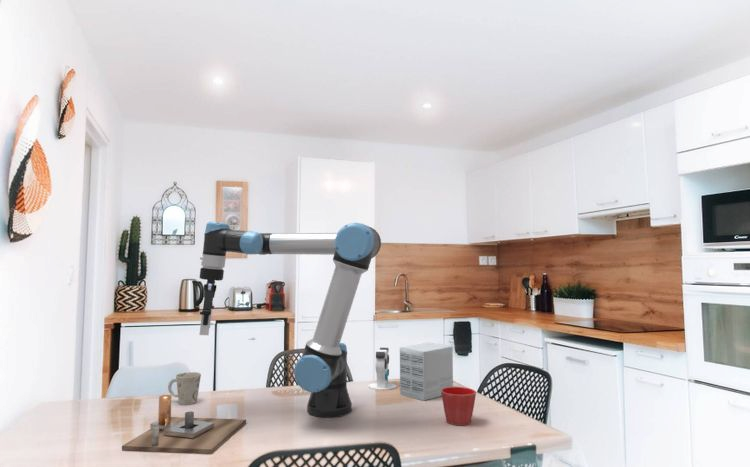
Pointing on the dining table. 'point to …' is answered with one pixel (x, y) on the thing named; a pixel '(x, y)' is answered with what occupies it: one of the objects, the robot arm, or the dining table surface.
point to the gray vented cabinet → (425, 370)
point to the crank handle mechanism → (177, 428)
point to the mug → (186, 387)
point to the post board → (175, 444)
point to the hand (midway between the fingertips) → (204, 331)
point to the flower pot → (458, 404)
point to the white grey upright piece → (382, 371)
